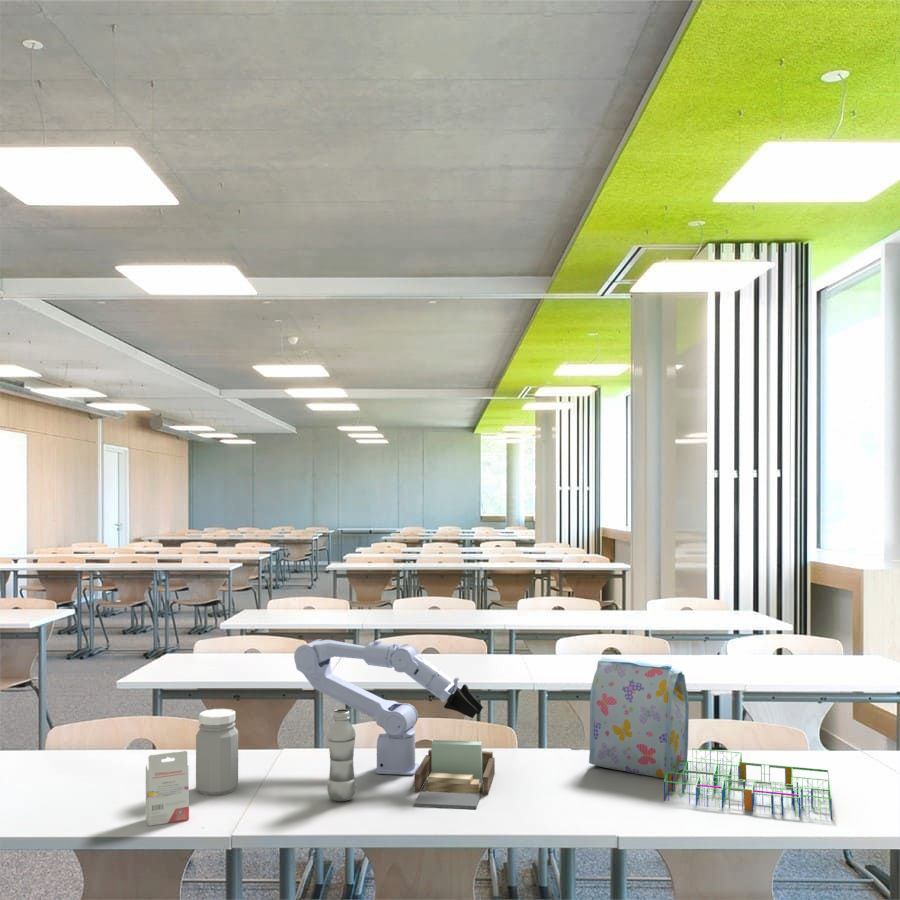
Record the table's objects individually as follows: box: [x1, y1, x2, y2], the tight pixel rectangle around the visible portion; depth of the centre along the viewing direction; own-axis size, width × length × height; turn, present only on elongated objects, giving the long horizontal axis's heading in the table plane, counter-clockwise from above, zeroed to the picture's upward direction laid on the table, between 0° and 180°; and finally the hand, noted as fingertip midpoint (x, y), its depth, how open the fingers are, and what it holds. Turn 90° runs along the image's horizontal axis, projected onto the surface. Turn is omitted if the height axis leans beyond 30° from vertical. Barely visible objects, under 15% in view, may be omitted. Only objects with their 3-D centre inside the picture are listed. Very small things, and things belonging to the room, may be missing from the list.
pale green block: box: [430, 739, 483, 784], centre depth 224 cm, size 12×3×9 cm, turn 82°
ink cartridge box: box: [145, 750, 190, 826], centre depth 199 cm, size 9×5×15 cm, turn 114°
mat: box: [413, 791, 481, 810], centre depth 209 cm, size 14×8×1 cm, turn 82°
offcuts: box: [423, 772, 482, 794], centre depth 217 cm, size 13×4×4 cm, turn 81°
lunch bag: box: [588, 657, 690, 779], centre depth 234 cm, size 22×17×26 cm
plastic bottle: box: [327, 708, 357, 802], centre depth 211 cm, size 6×7×20 cm
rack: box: [413, 749, 496, 796], centre depth 223 cm, size 17×17×5 cm
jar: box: [195, 708, 239, 797], centre depth 218 cm, size 10×10×18 cm
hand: (478, 712), depth 227 cm, fingers open, 7 cm apart
